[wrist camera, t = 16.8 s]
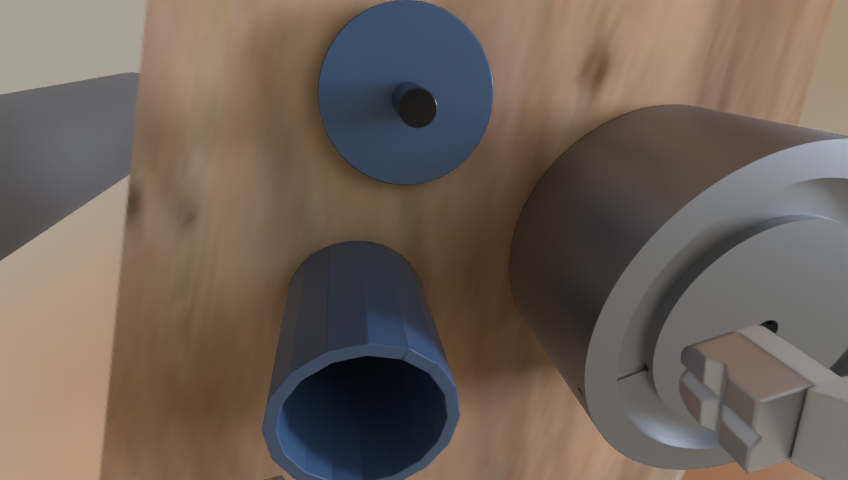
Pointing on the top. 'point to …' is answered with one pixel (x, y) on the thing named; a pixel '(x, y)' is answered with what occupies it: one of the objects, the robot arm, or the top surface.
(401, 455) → the tin
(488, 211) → the top surface
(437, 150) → the tin lid
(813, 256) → the container
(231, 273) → the top surface
